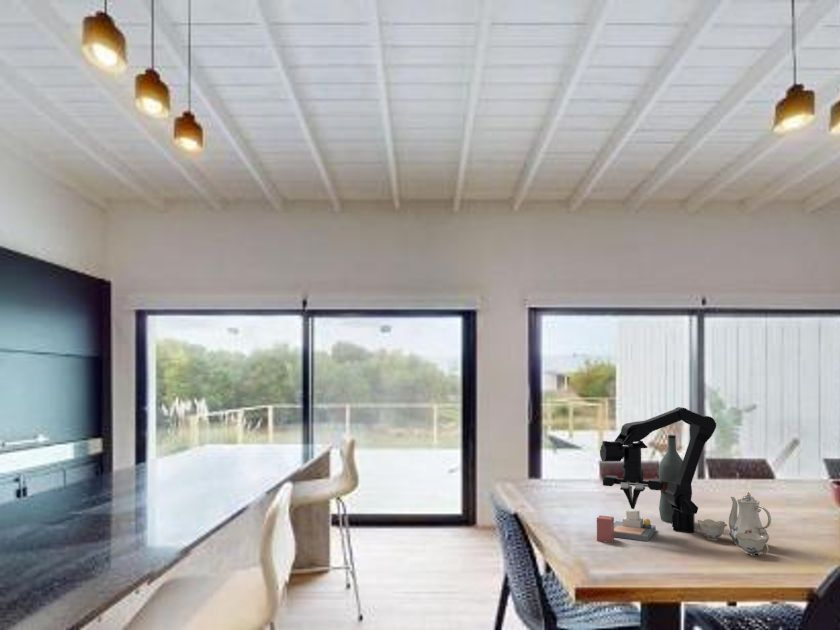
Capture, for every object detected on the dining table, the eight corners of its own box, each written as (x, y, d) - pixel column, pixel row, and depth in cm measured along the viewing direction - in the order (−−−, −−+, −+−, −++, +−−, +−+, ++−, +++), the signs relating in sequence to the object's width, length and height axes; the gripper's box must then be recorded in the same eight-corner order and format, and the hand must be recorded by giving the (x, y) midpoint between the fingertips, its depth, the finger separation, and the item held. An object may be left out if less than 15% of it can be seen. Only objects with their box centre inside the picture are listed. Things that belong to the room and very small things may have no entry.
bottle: (660, 522, 242) (659, 436, 244) (658, 516, 250) (656, 433, 252) (689, 524, 239) (687, 437, 241) (685, 518, 248) (684, 434, 250)
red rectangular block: (614, 539, 218) (613, 516, 219) (611, 542, 215) (610, 519, 215) (600, 537, 220) (599, 515, 221) (596, 540, 217) (596, 518, 217)
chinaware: (688, 541, 223) (683, 490, 223) (728, 532, 228) (723, 482, 229) (758, 566, 196) (752, 507, 197) (801, 555, 202) (795, 498, 203)
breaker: (639, 519, 231) (639, 510, 231) (637, 521, 227) (637, 512, 228) (628, 518, 232) (628, 509, 232) (626, 520, 229) (626, 511, 229)
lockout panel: (655, 530, 231) (655, 516, 231) (647, 541, 216) (647, 526, 217) (616, 525, 237) (615, 512, 237) (605, 535, 222) (605, 522, 223)
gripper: (665, 460, 234) (665, 507, 233) (609, 456, 243) (609, 501, 241) (660, 464, 224) (660, 513, 223) (602, 460, 233) (602, 507, 232)
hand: (633, 508), depth 230 cm, fingers closed
